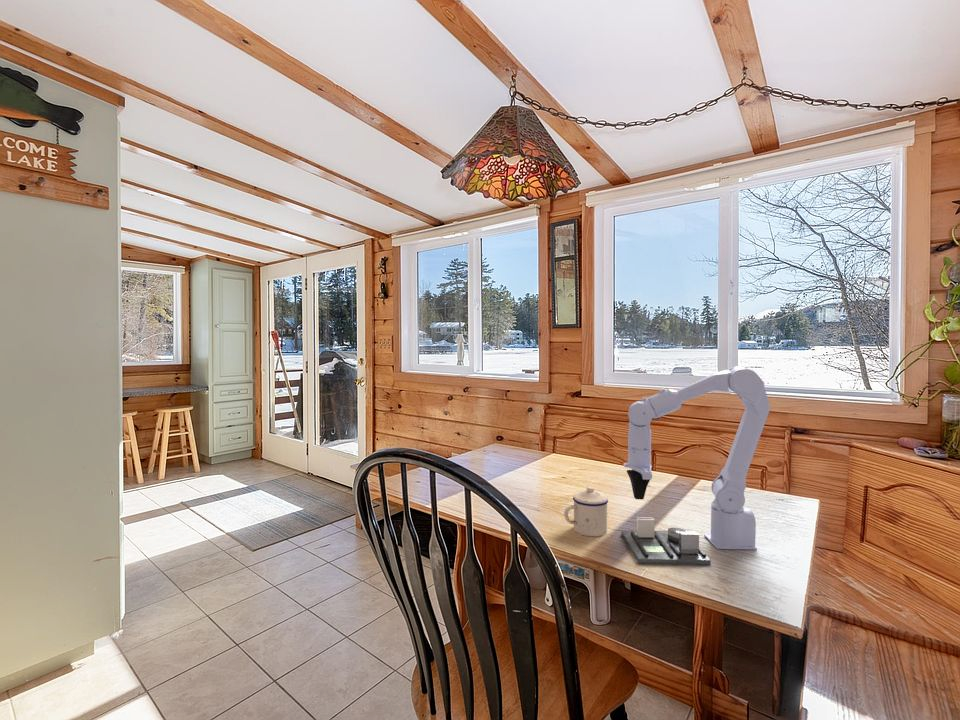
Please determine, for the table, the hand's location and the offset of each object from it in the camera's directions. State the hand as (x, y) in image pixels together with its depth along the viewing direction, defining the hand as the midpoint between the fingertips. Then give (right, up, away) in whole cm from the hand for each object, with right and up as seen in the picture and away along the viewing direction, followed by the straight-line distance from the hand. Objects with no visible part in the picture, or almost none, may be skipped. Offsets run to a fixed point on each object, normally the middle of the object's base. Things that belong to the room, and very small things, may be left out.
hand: (638, 498), depth 125 cm
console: (+3, -9, -10) cm, 14 cm away
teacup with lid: (-14, -9, +1) cm, 17 cm away
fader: (0, -8, -6) cm, 10 cm away
